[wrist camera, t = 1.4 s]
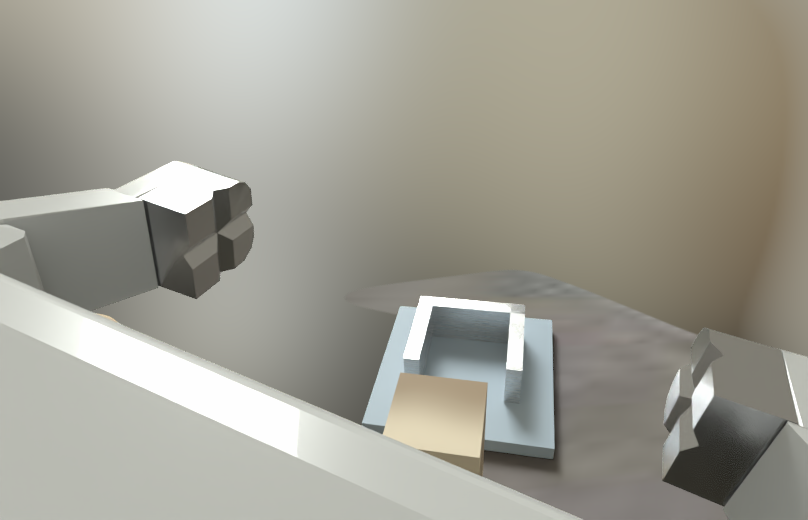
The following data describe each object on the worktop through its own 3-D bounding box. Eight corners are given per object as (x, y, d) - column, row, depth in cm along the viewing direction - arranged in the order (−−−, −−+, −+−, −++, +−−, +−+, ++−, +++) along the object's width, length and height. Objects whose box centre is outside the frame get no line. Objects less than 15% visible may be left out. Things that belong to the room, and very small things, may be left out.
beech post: (472, 595, 28) (479, 458, 22) (394, 581, 29) (380, 443, 23) (480, 521, 31) (487, 382, 25) (409, 509, 32) (400, 372, 26)
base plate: (363, 433, 37) (362, 422, 36) (400, 315, 46) (400, 306, 46) (552, 459, 34) (554, 449, 34) (550, 329, 44) (552, 320, 43)
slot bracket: (405, 389, 38) (403, 357, 37) (422, 326, 44) (421, 295, 42) (519, 403, 37) (522, 371, 35) (522, 336, 42) (525, 305, 40)
